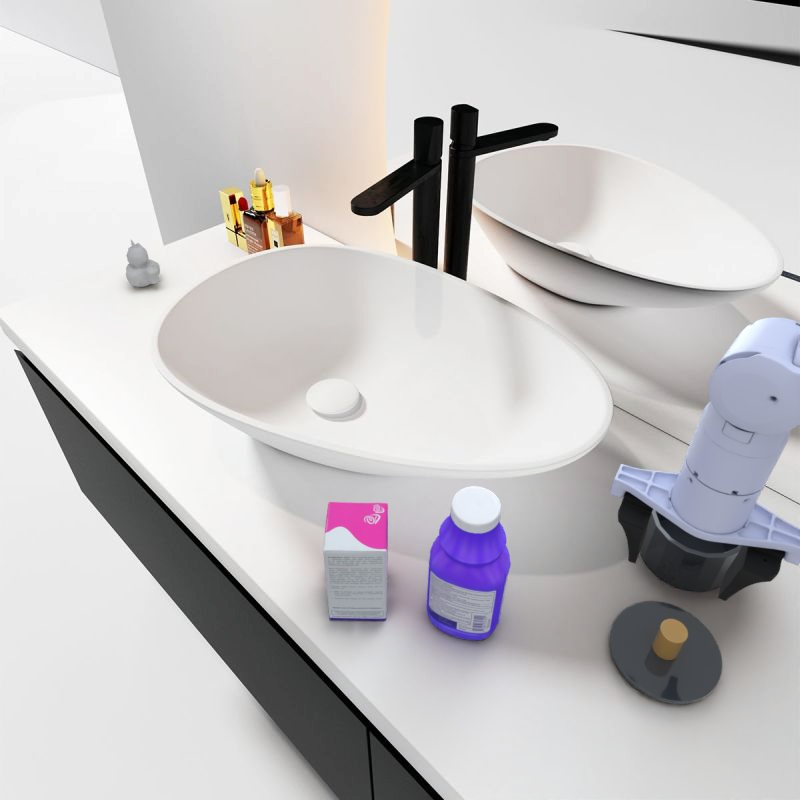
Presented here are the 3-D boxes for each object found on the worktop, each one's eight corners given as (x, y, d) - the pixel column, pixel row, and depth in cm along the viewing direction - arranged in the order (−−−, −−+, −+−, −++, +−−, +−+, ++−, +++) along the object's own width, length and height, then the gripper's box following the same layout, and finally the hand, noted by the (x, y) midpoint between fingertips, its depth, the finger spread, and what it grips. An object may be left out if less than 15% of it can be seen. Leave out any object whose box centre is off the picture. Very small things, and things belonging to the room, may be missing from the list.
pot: (747, 552, 74) (766, 517, 70) (705, 609, 69) (723, 574, 65) (666, 504, 79) (679, 468, 75) (622, 553, 74) (634, 519, 70)
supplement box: (388, 622, 68) (386, 552, 60) (328, 621, 68) (318, 552, 61) (390, 571, 72) (388, 500, 65) (333, 571, 72) (324, 500, 65)
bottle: (506, 602, 70) (526, 488, 58) (492, 653, 66) (511, 542, 54) (436, 582, 71) (442, 468, 60) (419, 630, 67) (421, 518, 56)
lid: (737, 653, 65) (752, 629, 63) (686, 731, 60) (700, 709, 57) (642, 588, 71) (652, 564, 68) (587, 655, 65) (595, 631, 63)
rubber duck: (147, 271, 116) (134, 227, 111) (174, 283, 114) (162, 239, 108) (120, 285, 113) (106, 241, 108) (147, 298, 110) (134, 254, 105)
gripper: (838, 466, 52) (773, 572, 61) (642, 402, 57) (610, 508, 66) (829, 534, 47) (761, 637, 56) (617, 457, 52) (586, 563, 62)
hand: (678, 572), depth 61 cm, fingers open, 7 cm apart
